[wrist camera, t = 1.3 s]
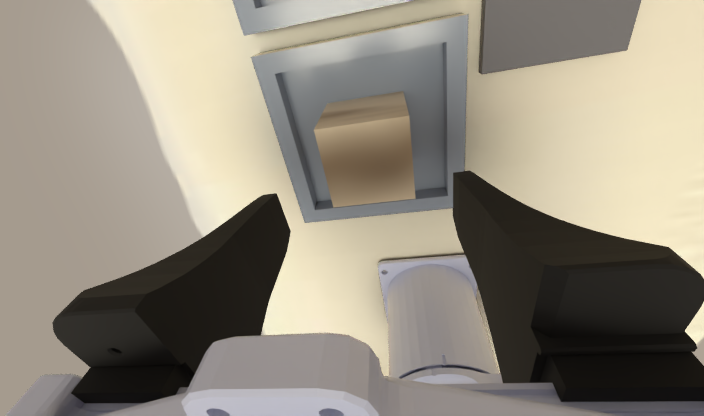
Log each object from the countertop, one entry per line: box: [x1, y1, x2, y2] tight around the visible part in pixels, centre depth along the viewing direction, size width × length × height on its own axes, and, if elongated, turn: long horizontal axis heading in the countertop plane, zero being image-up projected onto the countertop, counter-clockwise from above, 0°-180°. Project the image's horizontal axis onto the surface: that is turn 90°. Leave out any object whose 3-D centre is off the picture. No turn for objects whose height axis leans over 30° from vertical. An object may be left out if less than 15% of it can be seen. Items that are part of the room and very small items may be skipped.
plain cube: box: [314, 91, 416, 208], centre depth 17 cm, size 4×4×4 cm
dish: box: [251, 13, 468, 223], centre depth 19 cm, size 11×11×2 cm
